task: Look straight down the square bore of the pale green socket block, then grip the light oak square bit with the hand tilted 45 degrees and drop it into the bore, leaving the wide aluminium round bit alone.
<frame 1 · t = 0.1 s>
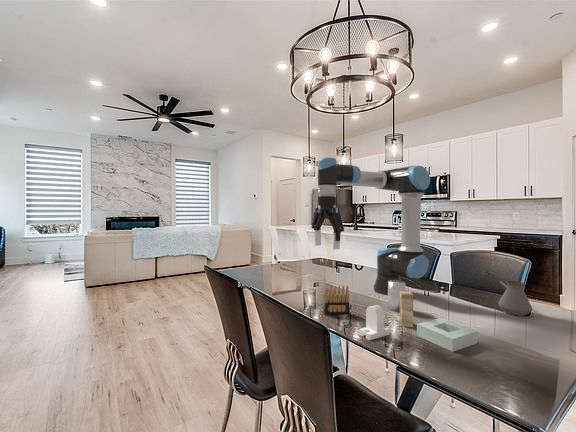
hand: (326, 247, 121), 28 cm above the table, tool pointing down, fingers open, 13 cm apart
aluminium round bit: (396, 309, 128), on the table
socket block: (446, 339, 98), on the table
oak square bit: (406, 324, 111), on the table
cable organizer: (374, 334, 102), on the table
coffee pot: (504, 309, 129), on the table
ammunition clip: (336, 314, 122), on the table
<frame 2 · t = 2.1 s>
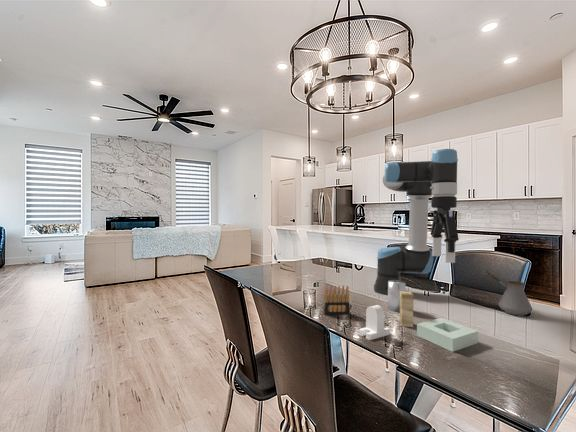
hand: (442, 259, 98), 27 cm above the table, tool pointing down, fingers open, 13 cm apart
nothing on the table moved.
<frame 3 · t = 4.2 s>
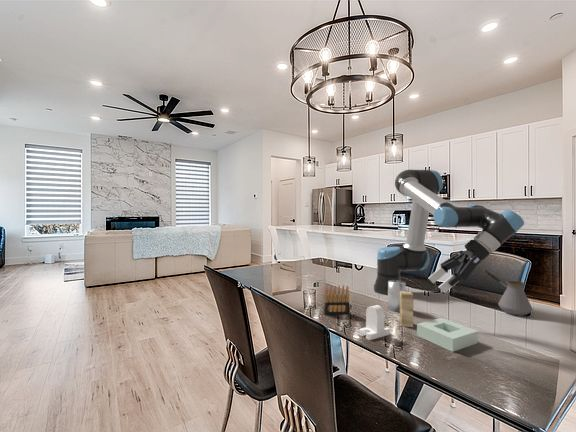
hand: (435, 285, 108), 16 cm above the table, tool tilted 45°, fingers open, 13 cm apart
nothing on the table moved.
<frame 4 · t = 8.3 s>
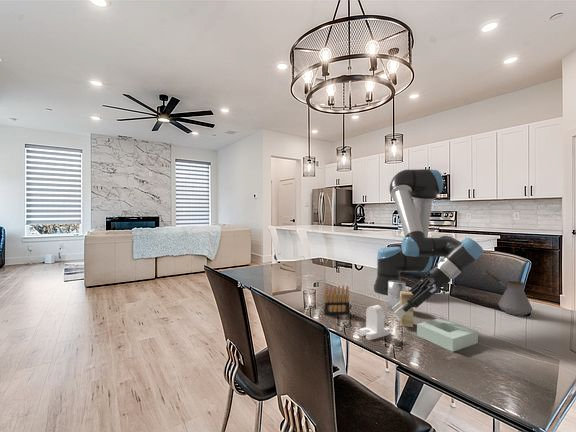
hand: (395, 313, 111), 4 cm above the table, tool tilted 45°, fingers closed on oak square bit, 4 cm apart
oak square bit: (406, 324, 111), on the table, touching gripper
everything else where it was.
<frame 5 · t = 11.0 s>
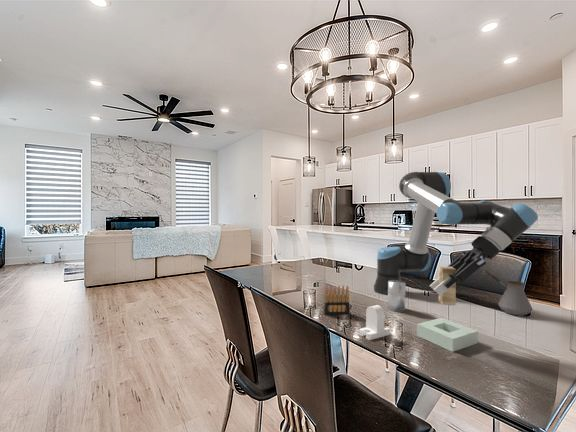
hand: (434, 290, 99), 16 cm above the table, tool tilted 45°, fingers closed on oak square bit, 4 cm apart
oak square bit: (446, 303, 98), point 12 cm above the table, touching gripper
everything else where it was.
when the fingers open (6 cm above the table, at t = 13.6 s): oak square bit drops 2 cm, resting in socket block.
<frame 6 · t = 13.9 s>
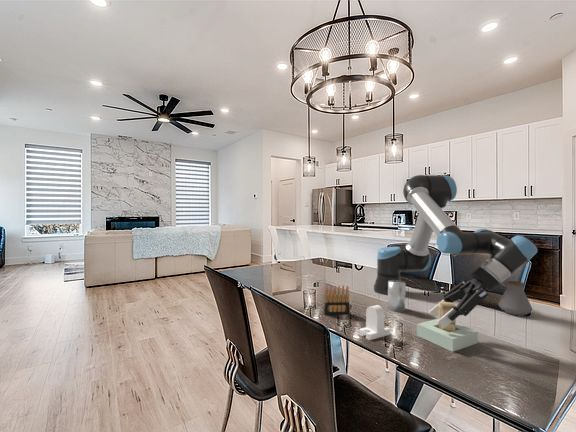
hand: (436, 319, 99), 7 cm above the table, tool tilted 45°, fingers open, 8 cm apart
oak square bit: (446, 339, 98), resting in socket block
everything else where it was.
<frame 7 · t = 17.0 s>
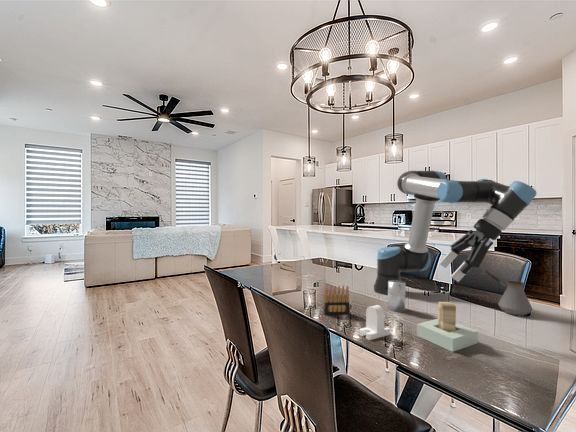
hand: (447, 272, 102), 22 cm above the table, tool tilted 35°, fingers open, 13 cm apart
nothing on the table moved.
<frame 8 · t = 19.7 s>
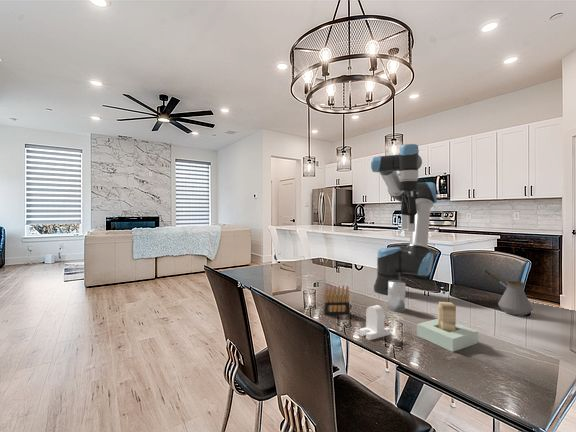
hand: (407, 230, 126), 35 cm above the table, tool pointing down, fingers open, 13 cm apart
nothing on the table moved.
at the end: oak square bit 0.1 cm off-centre on the socket block, point 0.0 cm above the socket block's base; oak square bit tilted 0°; the gripper is holding nothing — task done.
